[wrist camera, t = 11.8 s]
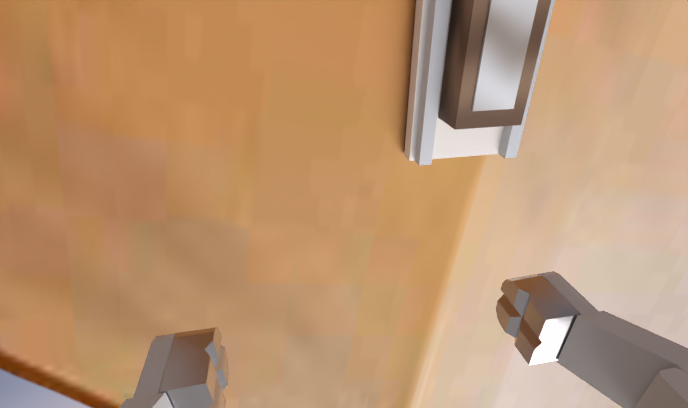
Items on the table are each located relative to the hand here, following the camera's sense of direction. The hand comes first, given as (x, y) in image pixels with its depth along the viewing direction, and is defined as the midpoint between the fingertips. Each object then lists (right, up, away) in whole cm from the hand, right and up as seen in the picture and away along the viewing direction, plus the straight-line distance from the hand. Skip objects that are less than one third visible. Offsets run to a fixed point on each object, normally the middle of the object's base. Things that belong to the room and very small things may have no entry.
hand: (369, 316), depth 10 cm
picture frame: (+11, +17, +19) cm, 28 cm away
